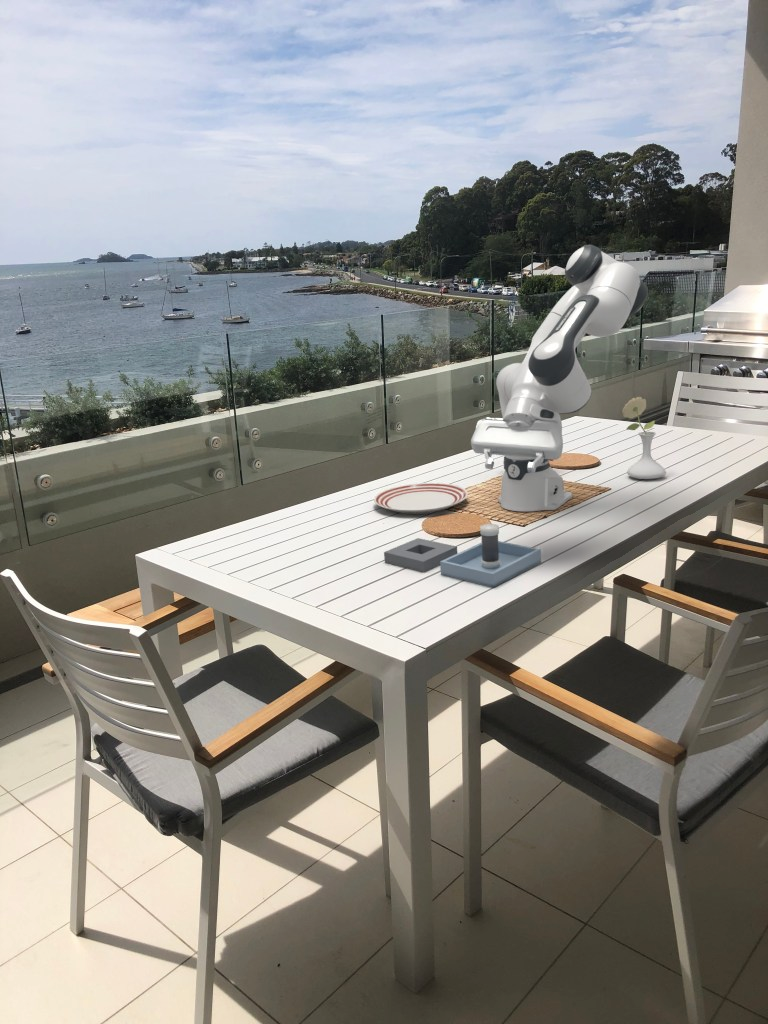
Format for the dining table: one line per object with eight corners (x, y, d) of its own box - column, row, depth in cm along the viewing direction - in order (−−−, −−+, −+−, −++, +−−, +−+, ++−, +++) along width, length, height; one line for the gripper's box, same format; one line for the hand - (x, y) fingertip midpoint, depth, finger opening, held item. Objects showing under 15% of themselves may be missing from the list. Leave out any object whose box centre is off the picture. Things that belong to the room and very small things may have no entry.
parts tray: (489, 551, 178) (489, 539, 177) (540, 562, 169) (540, 549, 168) (440, 574, 166) (440, 561, 165) (493, 587, 156) (492, 573, 156)
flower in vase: (660, 472, 237) (663, 392, 231) (670, 481, 227) (672, 397, 220) (617, 474, 239) (618, 395, 232) (625, 483, 228) (626, 400, 221)
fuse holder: (418, 547, 184) (418, 538, 183) (457, 556, 176) (457, 546, 175) (384, 562, 176) (384, 552, 175) (424, 572, 168) (423, 561, 167)
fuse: (488, 561, 170) (487, 522, 167) (503, 564, 167) (502, 525, 165) (477, 566, 167) (476, 527, 165) (492, 570, 164) (491, 530, 162)
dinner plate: (463, 518, 206) (463, 506, 205) (365, 519, 212) (364, 508, 211) (472, 492, 232) (471, 481, 231) (384, 494, 237) (384, 483, 236)
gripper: (476, 408, 173) (461, 456, 167) (566, 413, 165) (554, 464, 159) (481, 425, 178) (466, 473, 172) (568, 431, 170) (556, 482, 164)
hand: (509, 469), depth 165 cm, fingers open, 8 cm apart
